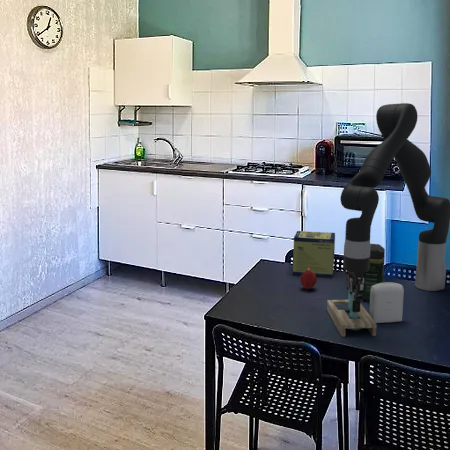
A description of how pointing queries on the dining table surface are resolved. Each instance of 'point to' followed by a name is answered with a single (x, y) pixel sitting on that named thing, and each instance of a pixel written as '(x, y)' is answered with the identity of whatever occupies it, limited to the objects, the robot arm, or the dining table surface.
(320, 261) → the protein box
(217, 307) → the dining table surface
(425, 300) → the dining table surface
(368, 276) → the coffee jar
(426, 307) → the dining table surface
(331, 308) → the keyhole plate
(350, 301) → the peg
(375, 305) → the photo printer
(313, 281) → the red pomegranate
